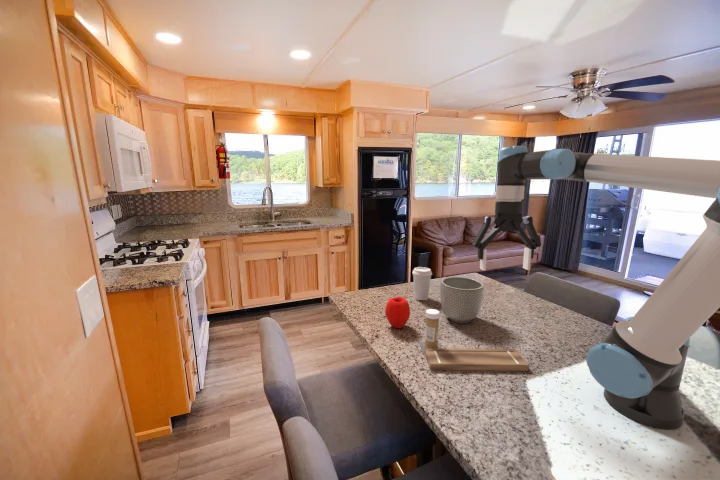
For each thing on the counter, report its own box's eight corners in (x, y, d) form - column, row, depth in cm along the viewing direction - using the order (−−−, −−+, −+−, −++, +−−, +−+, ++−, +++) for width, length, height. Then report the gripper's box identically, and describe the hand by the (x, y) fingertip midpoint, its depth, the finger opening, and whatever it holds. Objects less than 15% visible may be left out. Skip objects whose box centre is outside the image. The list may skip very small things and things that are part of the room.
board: (528, 370, 94) (528, 364, 94) (430, 369, 94) (430, 363, 94) (514, 354, 103) (514, 348, 103) (424, 353, 103) (424, 348, 103)
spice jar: (440, 348, 106) (442, 312, 103) (431, 352, 104) (433, 315, 101) (430, 342, 110) (432, 307, 107) (421, 346, 107) (423, 310, 105)
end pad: (443, 353, 103) (443, 353, 103) (423, 353, 103) (423, 352, 103) (438, 343, 110) (438, 342, 110) (419, 342, 110) (419, 342, 110)
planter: (430, 318, 130) (432, 282, 127) (452, 307, 142) (454, 274, 139) (467, 332, 118) (470, 293, 115) (489, 319, 129) (492, 283, 126)
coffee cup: (433, 297, 154) (435, 268, 151) (427, 303, 146) (428, 273, 143) (415, 293, 159) (416, 265, 156) (408, 299, 151) (409, 270, 148)
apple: (391, 318, 130) (392, 291, 127) (413, 324, 125) (414, 295, 122) (380, 328, 121) (381, 299, 119) (403, 334, 116) (404, 304, 114)
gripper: (543, 199, 96) (537, 265, 99) (463, 200, 95) (460, 266, 99) (558, 200, 88) (551, 271, 92) (472, 201, 88) (468, 273, 92)
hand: (504, 269), depth 95 cm, fingers open, 13 cm apart
